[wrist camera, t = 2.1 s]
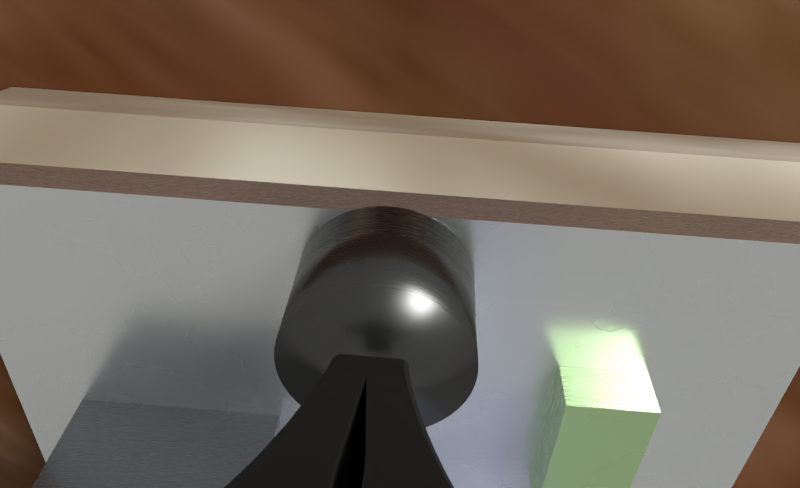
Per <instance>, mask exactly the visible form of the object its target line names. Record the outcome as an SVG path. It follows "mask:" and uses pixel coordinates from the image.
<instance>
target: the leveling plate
mask: <svg viewBox="0 0 800 488" xmlns="http://www.w3.org/2000/svg"><path fill="white" fill-rule="evenodd" d="M0 354H1V356H2V359H3V361H4V363H5V366H6V368H7V371H8V373H9V376H10V378H11V380H12V383H13V385H14V388H15V390H16V392H17V395H18V397H19V400H20V402H21V404H22V407H23V409H24V412H25V414H26V416H27V419H28V421H29V424H30V426H31V428H32V431H33V433H34V436H35V438H36V440H37V443H38V445H39V448H40V450H41V453H42V455H43V457H44V460H45V462H46V463H45V465H44V467H43V469H42V470H41V472H40V474H39V475H38V477H37V479H36V481H35V482H34V484H33V486H32V488H224V487H225V486H226V485H227V484H228V483H229V482H230V481H232V480H233V479H234V478H235V477H236V476H237V475H238V474H239V473H240V472H241V471H242V470H243V469H244V468H245V467H247V466H248V465H249V464H250V463H251V462H252V461H253V460H254V459H255V458H256V457H257V456H258V455H259V453H260V452H261V451H262V450H263V449H264V448H265V447H266V446H267V445H268V444H269V443H270V441H271V440H272V439H273V438H274V437H275V436H276V435H277V434H278V433H279V432H280V430H281V429H282V428H283V427H284V426H285V425H286V424H287V422H288V421H289V420H290V419H291V418H292V416H293V415H294V414H295V412H296V411H297V410H298V409H299V407H300V406H301V405H302V404H303V402H304V401H305V400H306V398H307V397H308V396H309V394H310V393H311V392H312V390H313V389H314V387H315V386H316V385H317V383H318V382H319V380H320V379H321V377H322V376H323V374H324V373H325V371H326V369H327V368H328V366H329V364H330V363H331V361H332V359H333V358H334V357H335V356H337V355H338V354H348V355H360V356H373V357H385V358H398V359H404V360H405V361H406V362H407V363H408V364H409V373H410V379H411V384H412V388H413V392H414V396H415V399H416V402H417V406H418V409H419V412H420V414H421V417H422V420H423V422H424V425H425V427H426V430H427V432H428V435H429V437H430V440H431V442H432V444H433V447H434V449H435V451H436V453H437V455H438V457H439V459H440V462H441V464H442V466H443V468H444V470H445V472H446V474H447V475H448V477H449V479H450V481H451V483H452V485H453V487H454V488H732V486H733V484H734V482H735V480H736V479H737V477H738V475H739V473H740V472H741V470H742V468H743V466H744V464H745V463H746V461H747V459H748V457H749V455H750V454H751V452H752V450H753V448H754V447H755V445H756V443H757V441H758V439H759V438H760V436H761V434H762V432H763V431H764V429H765V427H766V425H767V423H768V422H769V420H770V418H771V416H772V414H773V413H774V411H775V409H776V407H777V406H778V404H779V402H780V400H781V398H782V397H783V395H784V393H785V391H786V389H787V388H788V386H789V384H790V382H791V381H792V379H793V377H794V375H795V373H796V372H797V370H798V368H799V366H800V222H799V221H786V220H772V219H759V218H745V217H732V216H718V215H704V214H691V213H677V212H664V211H650V210H637V209H623V208H610V207H596V206H583V205H569V204H556V203H542V202H529V201H515V200H501V199H488V198H474V197H461V196H447V195H434V194H420V193H407V192H393V191H380V190H366V189H353V188H339V187H326V186H312V185H298V184H285V183H271V182H258V181H244V180H231V179H217V178H204V177H190V176H177V175H163V174H150V173H136V172H123V171H109V170H96V169H82V168H68V167H55V166H41V165H28V164H14V163H1V162H0Z"/></svg>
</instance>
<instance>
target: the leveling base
mask: <svg viewBox="0 0 800 488" xmlns="http://www.w3.org/2000/svg"><path fill="white" fill-rule="evenodd" d="M0 162H1V163H14V164H28V165H41V166H55V167H68V168H82V169H96V170H109V171H123V172H136V173H150V174H163V175H177V176H190V177H204V178H217V179H231V180H244V181H258V182H271V183H285V184H298V185H312V186H326V187H339V188H353V189H366V190H380V191H393V192H407V193H420V194H434V195H447V196H461V197H474V198H488V199H501V200H515V201H529V202H542V203H556V204H569V205H583V206H596V207H610V208H623V209H637V210H650V211H664V212H677V213H691V214H704V215H718V216H732V217H745V218H759V219H772V220H786V221H799V222H800V143H790V142H776V141H762V140H748V139H734V138H720V137H706V136H692V135H678V134H664V133H650V132H636V131H622V130H608V129H594V128H580V127H566V126H552V125H538V124H524V123H510V122H496V121H482V120H468V119H454V118H440V117H426V116H412V115H398V114H384V113H370V112H356V111H342V110H328V109H314V108H300V107H286V106H272V105H258V104H244V103H230V102H216V101H202V100H188V99H174V98H160V97H146V96H132V95H118V94H104V93H90V92H76V91H62V90H48V89H34V88H20V87H10V88H8V89H5V90H3V91H0Z"/></svg>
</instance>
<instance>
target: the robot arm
mask: <svg viewBox="0 0 800 488" xmlns="http://www.w3.org/2000/svg"><path fill="white" fill-rule="evenodd" d="M224 488H454V487H453V485H452V483H451V481H450V479H449V477H448V475H447V474H446V472H445V470H444V468H443V466H442V464H441V462H440V459H439V457H438V455H437V453H436V451H435V449H434V447H433V444H432V442H431V440H430V437H429V435H428V432H427V430H426V427H425V425H424V422H423V420H422V417H421V414H420V412H419V409H418V406H417V402H416V399H415V396H414V392H413V388H412V384H411V379H410V373H409V364H408V363H407V362H406V361H405V360H404V359H398V358H385V357H373V356H360V355H348V354H338V355H337V356H335V357H334V358H333V359H332V361H331V363H330V364H329V366H328V368H327V369H326V371H325V373H324V374H323V376H322V377H321V379H320V380H319V382H318V383H317V385H316V386H315V387H314V389H313V390H312V392H311V393H310V394H309V396H308V397H307V398H306V400H305V401H304V402H303V404H302V405H301V406H300V407H299V409H298V410H297V411H296V412H295V414H294V415H293V416H292V418H291V419H290V420H289V421H288V422H287V424H286V425H285V426H284V427H283V428H282V429H281V430H280V432H279V433H278V434H277V435H276V436H275V437H274V438H273V439H272V440H271V441H270V443H269V444H268V445H267V446H266V447H265V448H264V449H263V450H262V451H261V452H260V453H259V455H258V456H257V457H256V458H255V459H254V460H253V461H252V462H251V463H250V464H249V465H248V466H247V467H245V468H244V469H243V470H242V471H241V472H240V473H239V474H238V475H237V476H236V477H235V478H234V479H233V480H232V481H230V482H229V483H228V484H227V485H226V486H225V487H224Z"/></svg>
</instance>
